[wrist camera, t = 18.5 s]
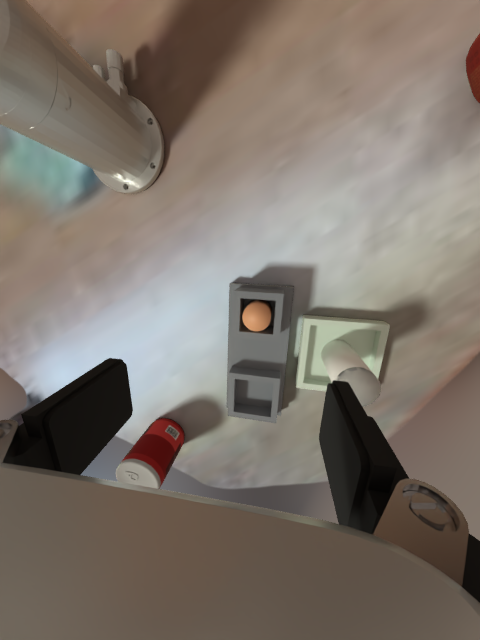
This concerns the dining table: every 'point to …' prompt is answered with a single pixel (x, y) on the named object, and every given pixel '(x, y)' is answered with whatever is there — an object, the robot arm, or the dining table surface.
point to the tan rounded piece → (257, 315)
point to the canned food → (152, 455)
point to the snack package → (474, 68)
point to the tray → (322, 330)
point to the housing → (257, 353)
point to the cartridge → (350, 370)
